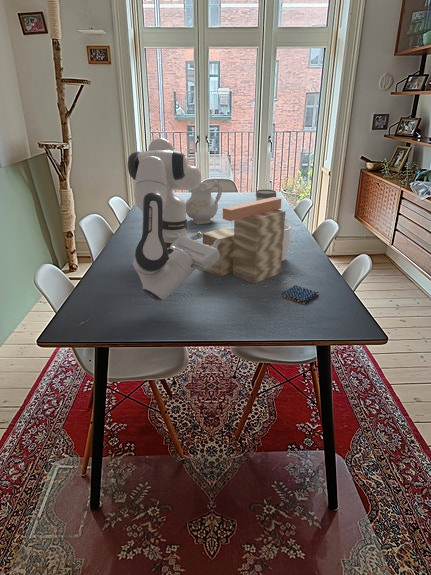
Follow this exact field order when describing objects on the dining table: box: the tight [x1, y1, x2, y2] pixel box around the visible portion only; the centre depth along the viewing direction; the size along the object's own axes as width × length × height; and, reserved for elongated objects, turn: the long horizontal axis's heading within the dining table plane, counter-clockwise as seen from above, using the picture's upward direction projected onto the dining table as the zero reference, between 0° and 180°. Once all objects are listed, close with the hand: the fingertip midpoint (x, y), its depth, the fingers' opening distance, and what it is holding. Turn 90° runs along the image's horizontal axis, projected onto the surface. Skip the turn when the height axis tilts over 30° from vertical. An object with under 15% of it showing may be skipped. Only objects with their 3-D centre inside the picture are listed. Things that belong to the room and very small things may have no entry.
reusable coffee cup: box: [255, 189, 277, 201], centre depth 248 cm, size 13×13×15 cm
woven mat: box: [280, 284, 320, 305], centre depth 148 cm, size 10×11×2 cm
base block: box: [202, 227, 234, 277], centre depth 167 cm, size 12×10×16 cm
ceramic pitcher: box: [185, 179, 223, 225], centre depth 233 cm, size 22×20×25 cm
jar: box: [282, 224, 292, 262], centre depth 179 cm, size 11×10×15 cm
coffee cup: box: [163, 233, 181, 261], centre depth 177 cm, size 9×9×12 cm
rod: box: [222, 196, 282, 222], centre depth 152 cm, size 28×4×4 cm, turn 132°
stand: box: [232, 209, 287, 284], centre depth 161 cm, size 16×12×26 cm
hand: (209, 236), depth 142 cm, fingers open, 8 cm apart
